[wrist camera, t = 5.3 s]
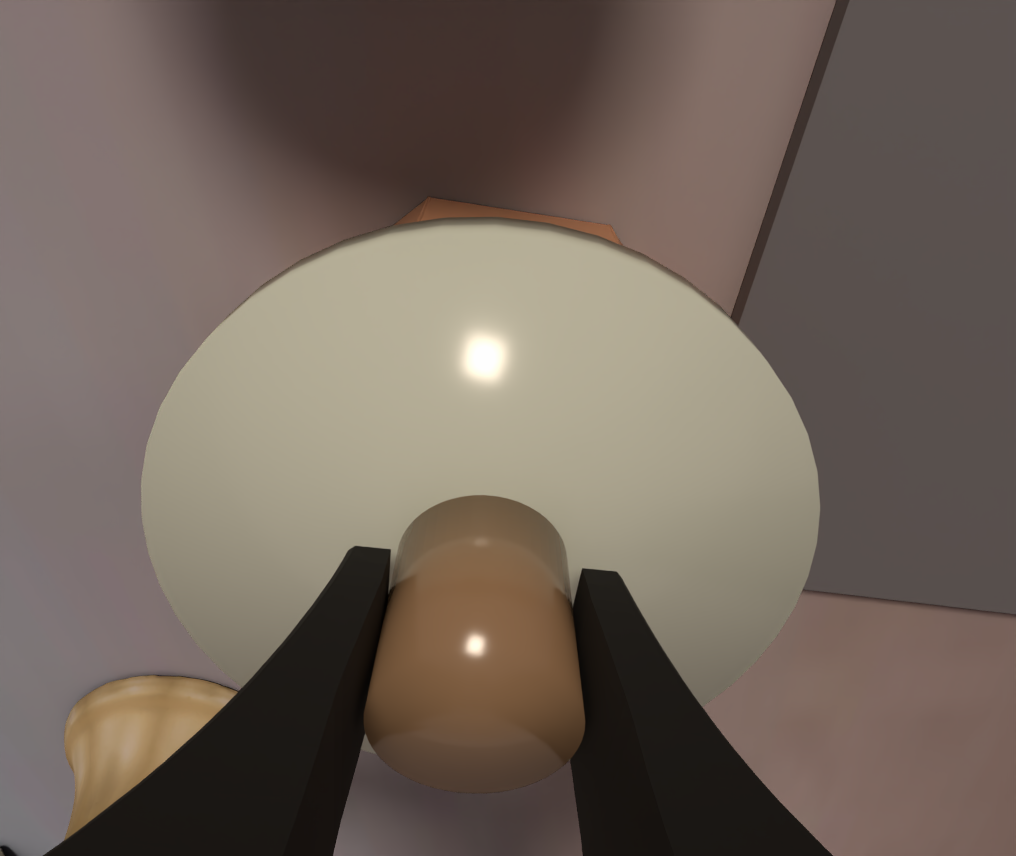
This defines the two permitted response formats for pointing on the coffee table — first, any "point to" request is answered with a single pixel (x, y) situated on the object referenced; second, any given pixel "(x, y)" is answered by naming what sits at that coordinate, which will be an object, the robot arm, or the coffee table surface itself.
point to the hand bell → (132, 734)
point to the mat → (902, 299)
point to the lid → (481, 479)
